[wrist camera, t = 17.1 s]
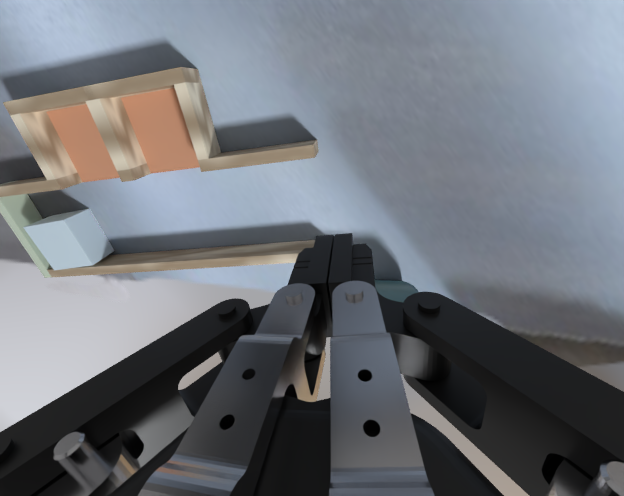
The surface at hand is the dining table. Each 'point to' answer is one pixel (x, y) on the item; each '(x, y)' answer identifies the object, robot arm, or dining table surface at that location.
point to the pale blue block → (70, 239)
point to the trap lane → (133, 159)
